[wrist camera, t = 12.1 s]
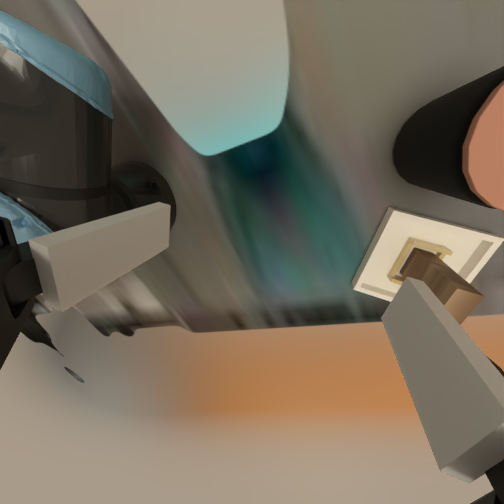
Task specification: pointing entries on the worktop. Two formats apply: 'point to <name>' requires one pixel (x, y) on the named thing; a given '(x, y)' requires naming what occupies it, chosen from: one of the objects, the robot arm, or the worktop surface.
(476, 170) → the coffee jar
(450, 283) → the wooden wedge
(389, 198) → the worktop surface
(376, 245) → the candle dish
